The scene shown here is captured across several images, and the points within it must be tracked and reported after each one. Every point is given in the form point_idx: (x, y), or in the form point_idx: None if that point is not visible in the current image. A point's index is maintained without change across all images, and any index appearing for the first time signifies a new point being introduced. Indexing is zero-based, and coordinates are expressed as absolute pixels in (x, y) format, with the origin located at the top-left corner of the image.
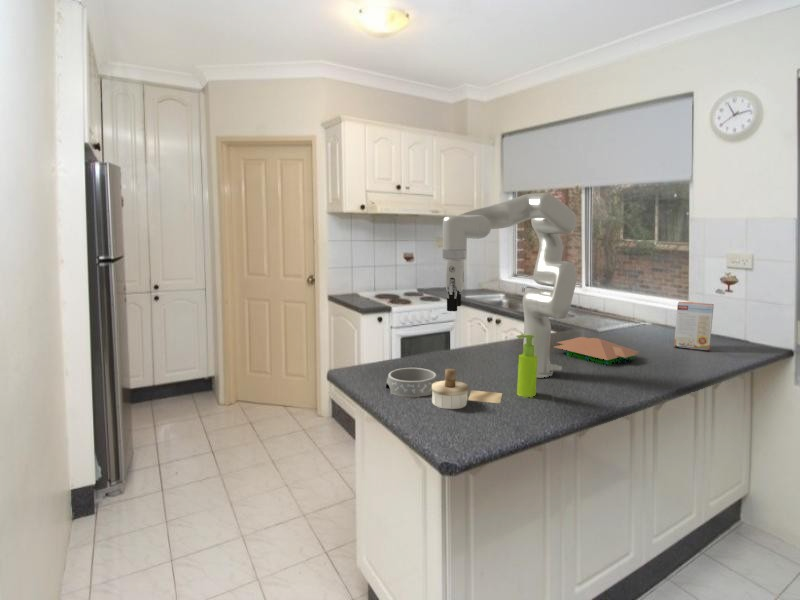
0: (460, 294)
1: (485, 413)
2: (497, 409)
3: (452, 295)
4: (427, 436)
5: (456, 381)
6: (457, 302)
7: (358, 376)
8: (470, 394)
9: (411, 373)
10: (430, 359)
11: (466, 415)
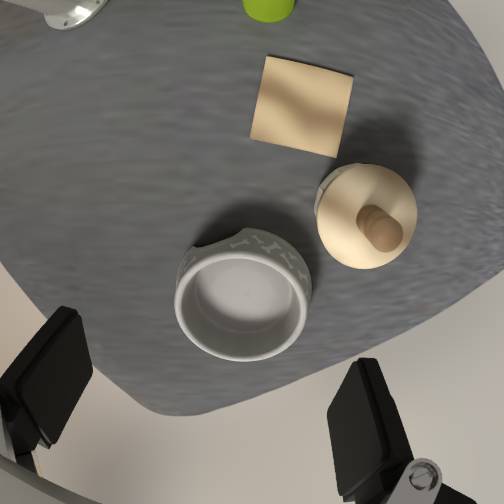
0: (15, 389)
1: (412, 128)
2: (385, 93)
3: (445, 499)
4: (491, 256)
5: (327, 197)
6: (70, 353)
7: (178, 386)
8: (288, 145)
9: (187, 307)
10: (20, 249)
11: (423, 174)
